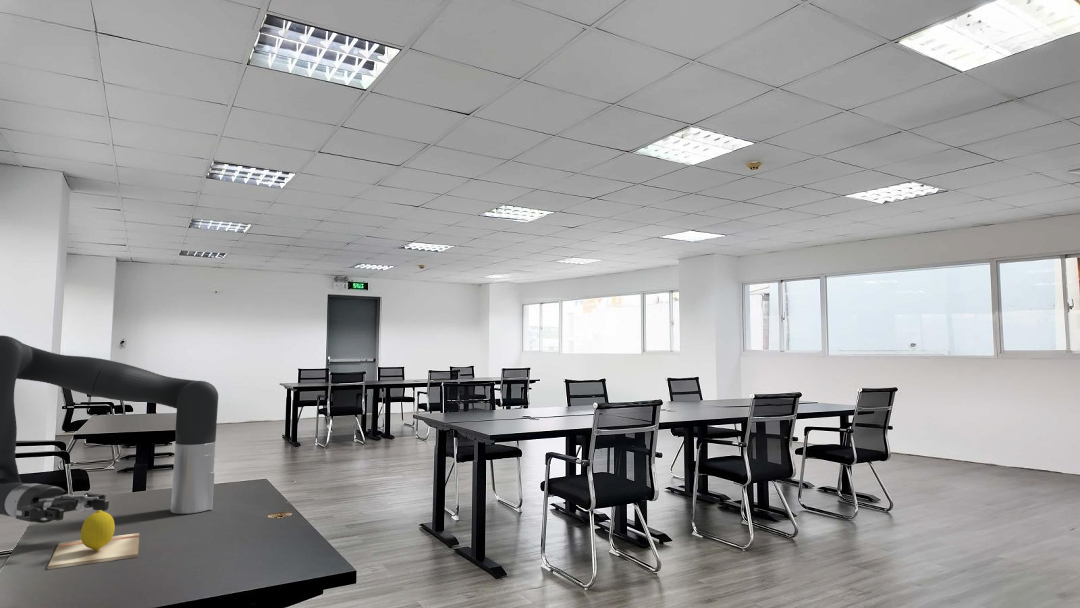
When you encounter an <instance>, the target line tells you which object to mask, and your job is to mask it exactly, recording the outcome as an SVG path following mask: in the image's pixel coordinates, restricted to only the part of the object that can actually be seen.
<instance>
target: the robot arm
mask: <svg viewBox="0 0 1080 608" xmlns="http://www.w3.org/2000/svg"><path fill="white" fill-rule="evenodd" d="M17 380H22V381H23V380H26V381H31V382H40V383H46V384H51V385H54V386H57V387H61V388H63V389H67V390H70V391H73V392H75V393H76V392H77V393H80V394H84V395H89V396H94V397H97V398H98V397H99V398H104V399H109V400H116V401H123V402H136V403H137V402H138V403H153V404H158V405H161V406H165V407H169V408H174V409H176V416H175V442H174V443H175V444H174V455H173V456H174V457H173V471H172V486H171V501H170V513H172V514H183V515H184V514H196V513H200V512H205V511H211V510H213V502H214V487H215V456H216V455H215V454H216V453H215V452H216V442H217V441H216V440H217V439H216V438H217V425H218V423H217V422H218V421H217V420H218V411H219V410H218V409H219V408H218V407H219V406H218V404H219V393H218V389H217V388H216V387H215V386H214V385H213V384H212V383H210V382H209V381H205V380H196V379H195V380H194V379H187V378H180V377H179V378H178V377H177V378H176V377H172V376H171V377H170V376H165V375H162V374H159V373H155V372H153V371H150V370H147V369H144V368H141V367H137V366H133V365H130V364H127V363H123V362H118V361H115V360H110V359H105V358H99V357H92V356H91V357H89V356H79V355H78V356H77V355H66V354H65V355H64V354H60V353H55V352H51V351H47V350H43V349H40V348H37V347H34V346H31V345H28V344H26V343H23V342H22V341H20V340H18V339H17V338H14V337H11V336H8V335H0V515H3V516H7V517H13V518H15V520H20V521H24V522H29V523H40V524H44V523H45V524H46V523H49V522H50V523H51V522H52V521H59V522H60V521H62V520H64V515H68V514H76V513H77V514H78V513H84V512H86V511H90V510H91V511H98V510H102V511H103V512H106V511H108V510H109V503H110V502H109V500H108V499H106V497H107V495H106V494H101V493H92V492H91V493H90V492H86V493H83V494H81V495H80V494H78V495H75V494H71V493H70V494H69V493H67V491H66V490H65V489H64V488H62V487H60V486H57V485H51V484H50V485H49V484H42V483H28V482H27V483H26V482H22V479H21V477H20V474H19V469H18V464H17V461H16V448H17V436H18V435H17V434H18V433H17V431H18V430H17V429H18V428H17V427H18V426H17V418H16V410H15V407H16V406H15V388H16V387H15V386H16V381H17ZM78 506H79V508H77V507H78Z"/></svg>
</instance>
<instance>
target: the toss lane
mask: <svg viewBox="0 0 1080 608" xmlns="http://www.w3.org/2000/svg"><path fill="white" fill-rule="evenodd" d="M139 546H140V532H137V533H129V534H127V533H126V534H122V535H113V537H112V539H111V540H110V541H109V542H108V543H107V544H106V545H105V546H103V547H101V548H100V549H99V550H98V551H94V550H93V549H91V548H88V547H86V546H85V545H84V544H83V543H82V541H81V539H79V540H78V539H77V540H71V541H70V540H69V541H61V542H60V541H59V543H58V545H57V547H56V548H55V550H54V553H53V555H52V557H51V559H50V560H49V563H48V565H47V566H46V570H53V569H60V568H68V567H77V566H83V565H89V564H90V565H91V564H98V563H106V562H112V561H120V560H125V559H127V560H128V559H134V558H138V557H139Z"/></svg>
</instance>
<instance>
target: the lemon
mask: <svg viewBox="0 0 1080 608" xmlns="http://www.w3.org/2000/svg"><path fill="white" fill-rule="evenodd" d="M115 529H116V525H115V520H114V518H113V516H112V515H111V514H110V513H109V512H106V511H102V510H96V512H93V513H92V514H89V516H87V517H86V518H85V520H84V522H83V523H82V526H81V530H80V540H81V541H82V543H83V544H84V545H85V546H86V547H88V548H91V549H93V550H94V551H98V550H99V549H100V548H101V547H103V546H105V545H106V544H107V543H108V542H109V541H110V540H111V539H112V537H113V536H114V534H115Z"/></svg>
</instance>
